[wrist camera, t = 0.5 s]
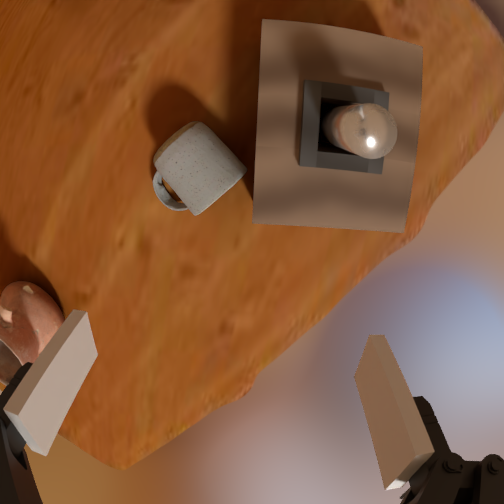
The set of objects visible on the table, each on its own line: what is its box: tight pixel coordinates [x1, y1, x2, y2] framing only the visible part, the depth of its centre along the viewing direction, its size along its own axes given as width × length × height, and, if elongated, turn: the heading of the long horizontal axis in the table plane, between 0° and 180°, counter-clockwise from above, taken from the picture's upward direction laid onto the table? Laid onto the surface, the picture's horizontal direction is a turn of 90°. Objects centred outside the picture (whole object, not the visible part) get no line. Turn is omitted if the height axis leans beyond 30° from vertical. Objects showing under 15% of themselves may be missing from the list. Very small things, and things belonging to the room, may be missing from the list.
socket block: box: [252, 19, 423, 233], centre depth 31 cm, size 20×16×9 cm
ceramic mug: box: [153, 121, 247, 215], centre depth 34 cm, size 11×8×8 cm
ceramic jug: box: [0, 281, 65, 386], centre depth 41 cm, size 18×14×14 cm
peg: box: [322, 103, 397, 159], centre depth 24 cm, size 4×4×8 cm
